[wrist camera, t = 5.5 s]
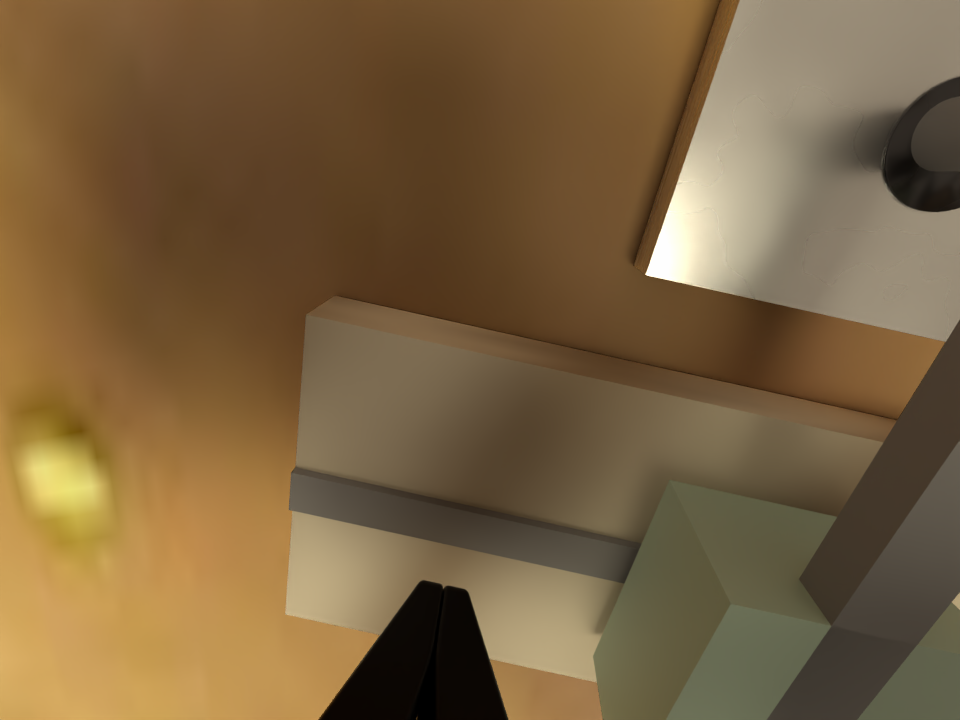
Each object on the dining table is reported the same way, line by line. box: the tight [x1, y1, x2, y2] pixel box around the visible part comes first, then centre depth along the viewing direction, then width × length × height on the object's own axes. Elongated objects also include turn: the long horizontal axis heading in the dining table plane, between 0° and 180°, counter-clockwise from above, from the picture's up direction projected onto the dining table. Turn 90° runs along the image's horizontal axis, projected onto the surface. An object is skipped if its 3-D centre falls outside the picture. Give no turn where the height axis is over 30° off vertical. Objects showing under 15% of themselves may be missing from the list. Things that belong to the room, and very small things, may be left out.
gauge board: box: [285, 296, 960, 682], centre depth 9 cm, size 24×14×5 cm, turn 78°
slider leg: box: [593, 96, 960, 720], centre depth 7 cm, size 4×12×3 cm, turn 168°
